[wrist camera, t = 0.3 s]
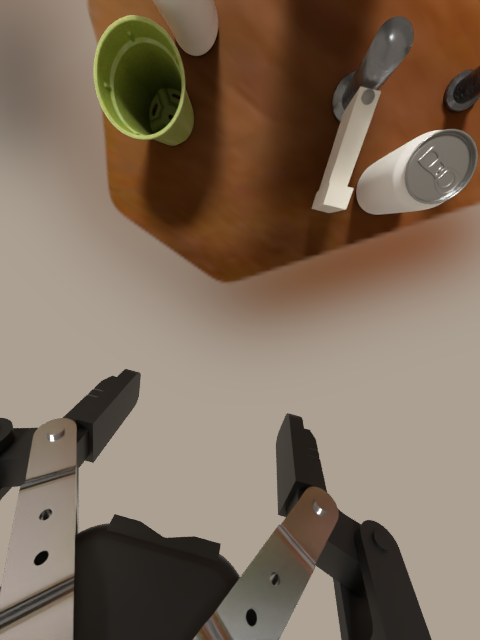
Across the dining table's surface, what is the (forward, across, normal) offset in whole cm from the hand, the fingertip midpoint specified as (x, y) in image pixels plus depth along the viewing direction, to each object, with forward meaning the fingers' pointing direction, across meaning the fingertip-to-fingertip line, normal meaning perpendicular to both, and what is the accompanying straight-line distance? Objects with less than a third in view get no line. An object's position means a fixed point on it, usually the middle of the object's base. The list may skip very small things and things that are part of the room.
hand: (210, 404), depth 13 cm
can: (+28, -14, -17) cm, 36 cm away
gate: (+26, -7, -18) cm, 32 cm away
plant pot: (+28, +15, -19) cm, 37 cm away
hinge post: (+28, -7, -25) cm, 38 cm away
